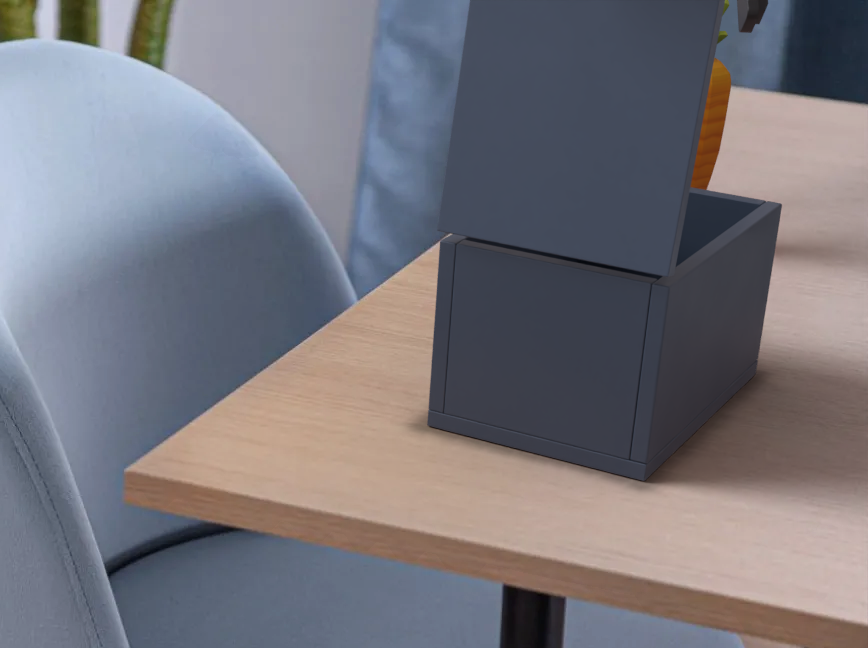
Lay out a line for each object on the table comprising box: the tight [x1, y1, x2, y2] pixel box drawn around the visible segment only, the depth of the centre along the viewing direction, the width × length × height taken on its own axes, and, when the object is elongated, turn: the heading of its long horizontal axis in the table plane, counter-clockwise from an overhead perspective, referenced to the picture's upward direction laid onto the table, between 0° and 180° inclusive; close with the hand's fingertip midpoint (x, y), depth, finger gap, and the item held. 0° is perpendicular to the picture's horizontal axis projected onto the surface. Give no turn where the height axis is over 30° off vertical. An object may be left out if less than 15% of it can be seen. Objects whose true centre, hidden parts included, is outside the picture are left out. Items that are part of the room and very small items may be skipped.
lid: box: [436, 0, 725, 277], centre depth 70 cm, size 16×11×5 cm
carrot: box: [690, 0, 732, 190], centre depth 104 cm, size 5×5×15 cm
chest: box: [426, 187, 783, 482], centre depth 83 cm, size 16×11×9 cm
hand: (679, 22), depth 107 cm, fingers open, 8 cm apart
